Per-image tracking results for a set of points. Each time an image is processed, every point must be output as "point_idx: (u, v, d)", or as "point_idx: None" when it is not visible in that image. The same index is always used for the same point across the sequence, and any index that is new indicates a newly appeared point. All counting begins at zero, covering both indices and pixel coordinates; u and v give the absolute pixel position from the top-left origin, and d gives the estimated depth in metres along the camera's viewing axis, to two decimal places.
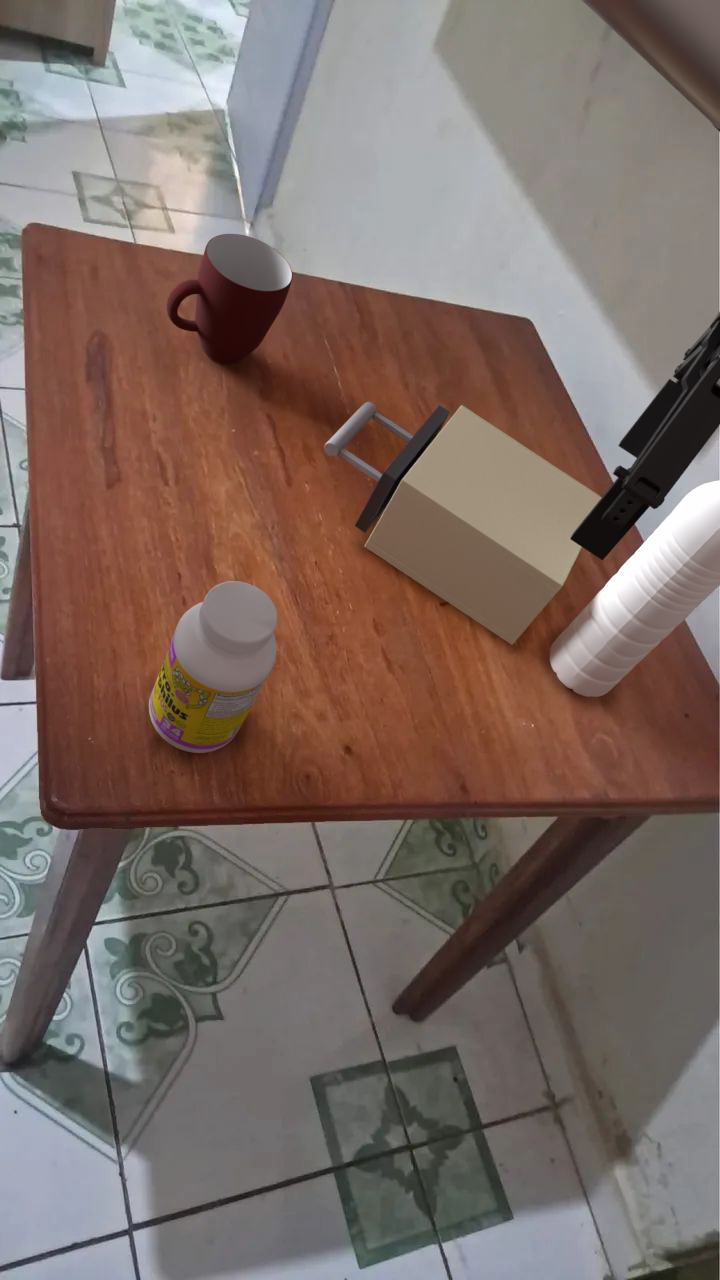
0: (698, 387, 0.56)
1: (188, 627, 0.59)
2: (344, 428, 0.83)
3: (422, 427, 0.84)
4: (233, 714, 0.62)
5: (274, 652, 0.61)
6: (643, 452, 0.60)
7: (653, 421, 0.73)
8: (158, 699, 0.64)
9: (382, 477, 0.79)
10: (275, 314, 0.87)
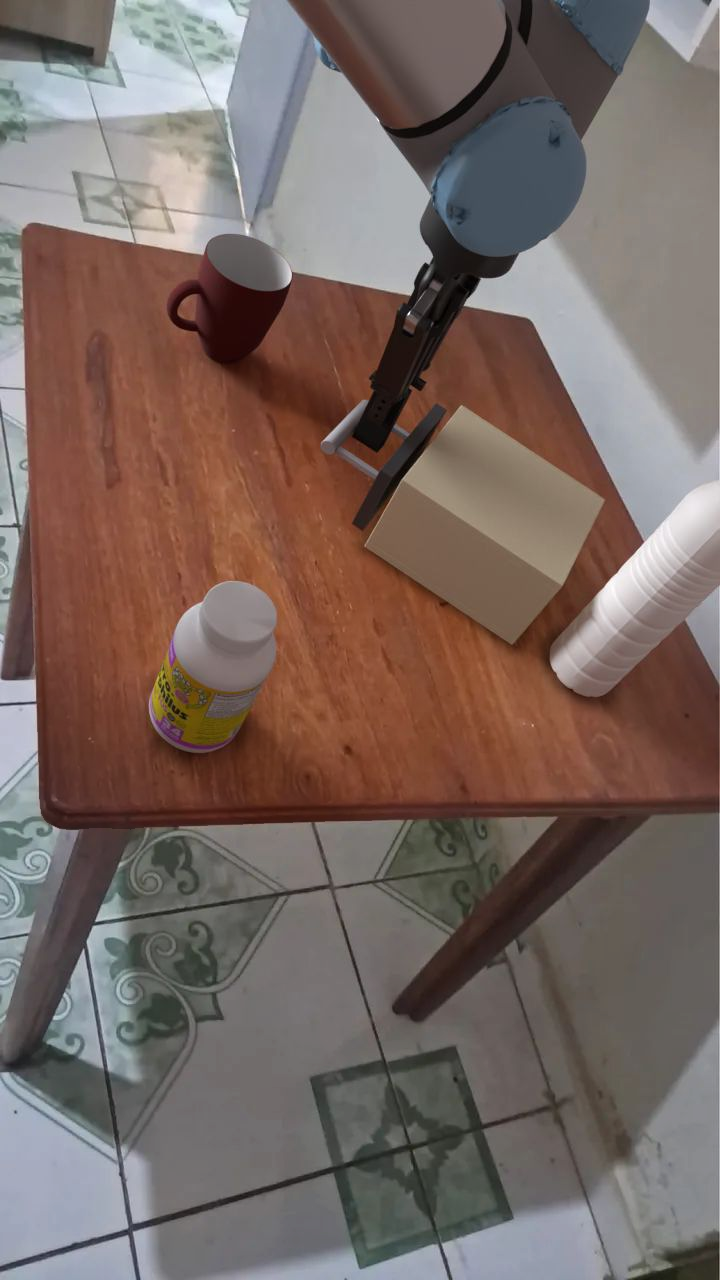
0: (393, 329, 0.71)
1: (188, 627, 0.59)
2: (341, 426, 0.83)
3: (419, 425, 0.84)
4: (233, 714, 0.62)
5: (274, 652, 0.61)
6: None
7: None
8: (158, 699, 0.64)
9: (379, 475, 0.79)
10: (275, 314, 0.87)
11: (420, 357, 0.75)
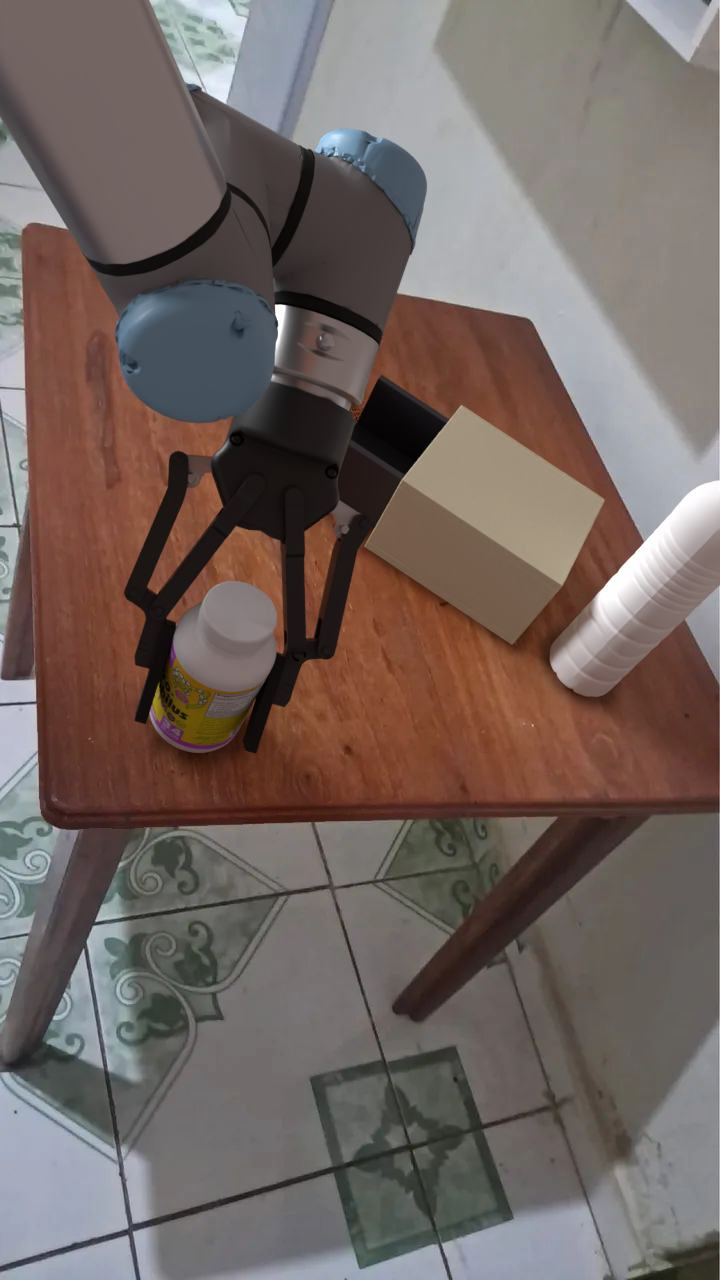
0: None
1: (188, 627, 0.59)
2: None
3: None
4: (233, 714, 0.62)
5: (274, 652, 0.61)
6: (165, 584, 0.62)
7: (258, 697, 0.64)
8: (158, 699, 0.64)
9: None
10: None
11: (190, 553, 0.60)
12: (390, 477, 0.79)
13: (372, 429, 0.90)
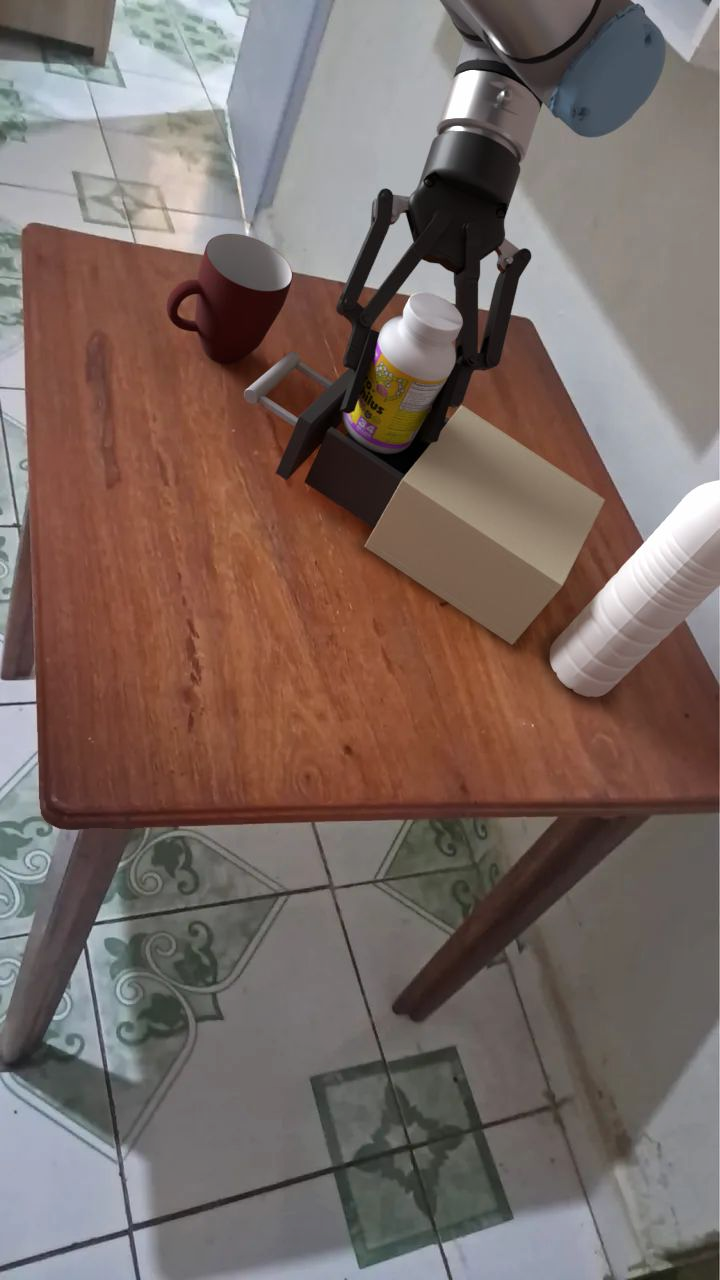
0: None
1: (391, 328, 0.75)
2: (265, 376, 0.84)
3: (343, 375, 0.84)
4: (420, 409, 0.78)
5: (455, 355, 0.77)
6: None
7: (436, 400, 0.80)
8: None
9: (298, 421, 0.79)
10: (275, 314, 0.87)
11: (391, 273, 0.76)
12: (390, 477, 0.79)
13: None
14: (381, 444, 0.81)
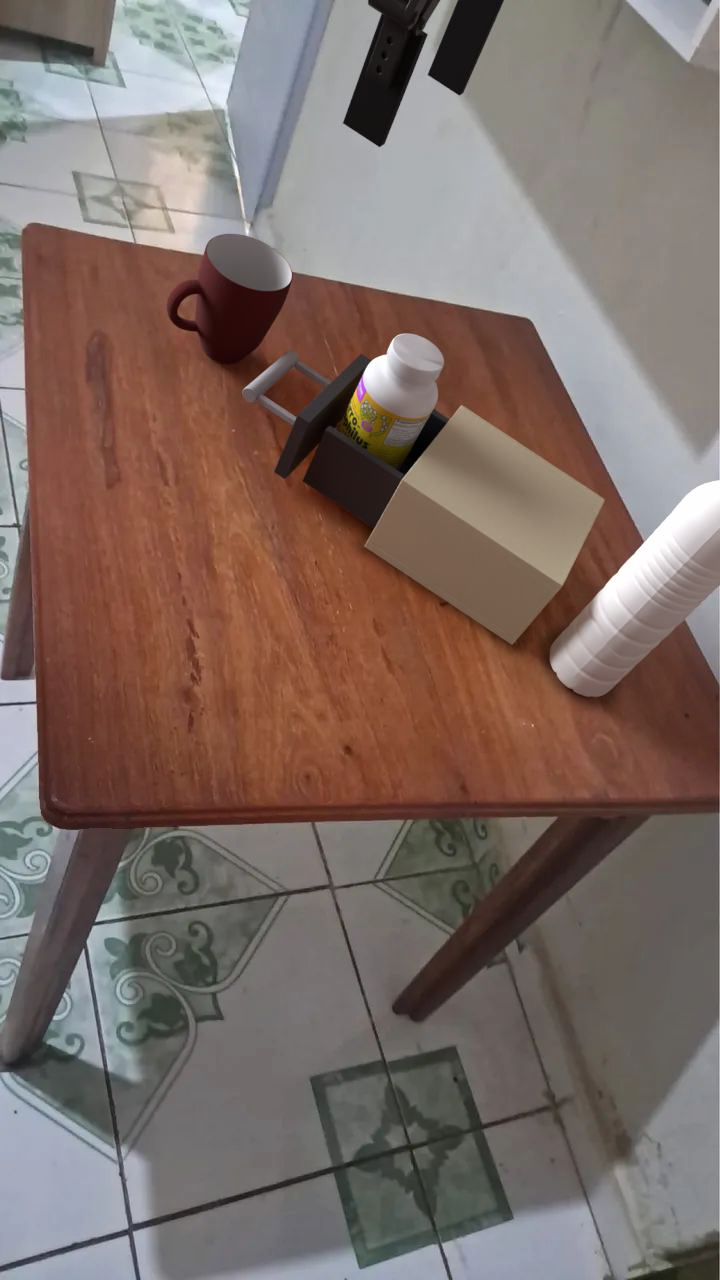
0: None
1: (376, 368, 0.79)
2: (263, 375, 0.84)
3: (341, 374, 0.84)
4: (403, 444, 0.82)
5: (437, 393, 0.80)
6: None
7: None
8: None
9: (296, 420, 0.79)
10: (275, 314, 0.87)
11: None
12: (388, 476, 0.79)
13: None
14: None
